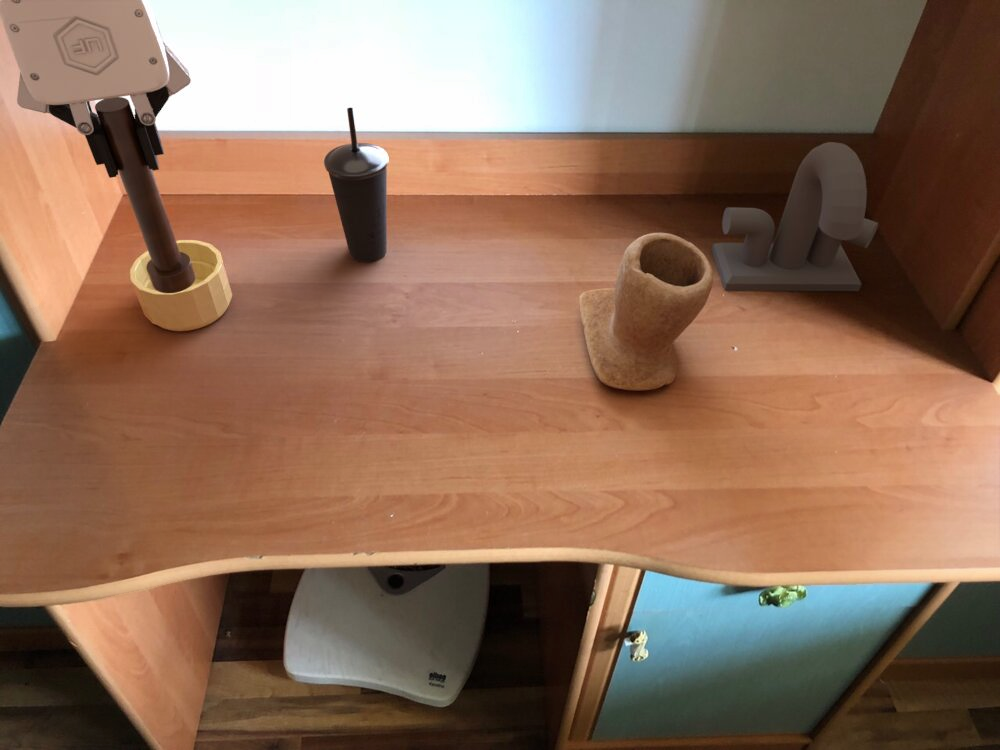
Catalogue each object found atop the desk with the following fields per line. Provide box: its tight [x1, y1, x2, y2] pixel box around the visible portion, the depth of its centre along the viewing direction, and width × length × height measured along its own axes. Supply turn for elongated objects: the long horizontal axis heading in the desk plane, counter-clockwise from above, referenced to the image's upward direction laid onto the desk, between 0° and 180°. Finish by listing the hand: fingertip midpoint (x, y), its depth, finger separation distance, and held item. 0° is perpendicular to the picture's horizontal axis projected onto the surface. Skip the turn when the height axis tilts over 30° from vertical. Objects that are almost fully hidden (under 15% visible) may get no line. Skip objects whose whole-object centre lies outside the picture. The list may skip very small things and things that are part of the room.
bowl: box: [129, 239, 233, 332], centre depth 94 cm, size 10×10×6 cm
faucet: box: [710, 141, 879, 292], centre depth 94 cm, size 18×16×20 cm
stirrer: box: [94, 96, 196, 293], centre depth 70 cm, size 4×4×18 cm
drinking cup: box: [323, 107, 390, 263], centre depth 97 cm, size 8×8×20 cm
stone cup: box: [578, 232, 714, 392], centre depth 87 cm, size 15×12×15 cm
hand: (133, 164), depth 68 cm, fingers closed on stirrer, 2 cm apart
